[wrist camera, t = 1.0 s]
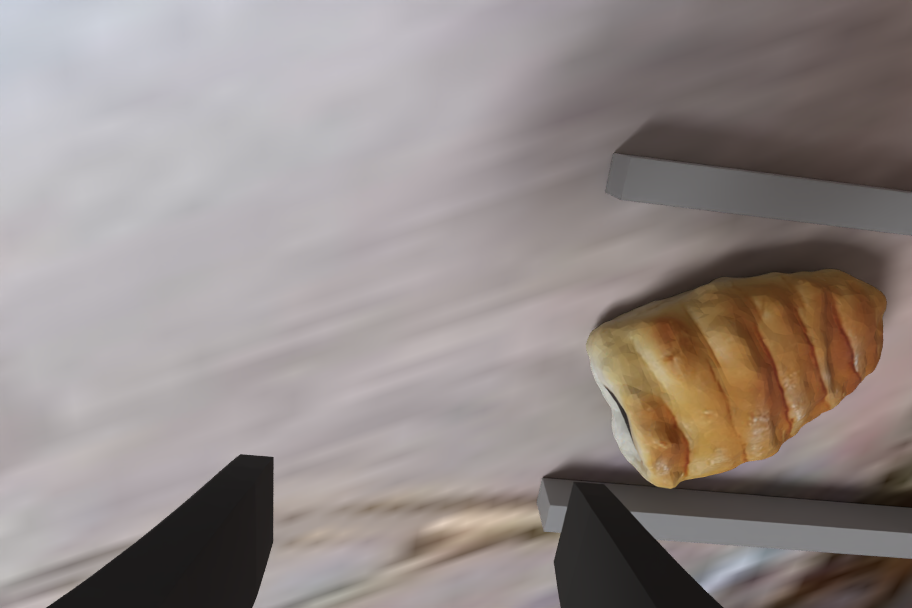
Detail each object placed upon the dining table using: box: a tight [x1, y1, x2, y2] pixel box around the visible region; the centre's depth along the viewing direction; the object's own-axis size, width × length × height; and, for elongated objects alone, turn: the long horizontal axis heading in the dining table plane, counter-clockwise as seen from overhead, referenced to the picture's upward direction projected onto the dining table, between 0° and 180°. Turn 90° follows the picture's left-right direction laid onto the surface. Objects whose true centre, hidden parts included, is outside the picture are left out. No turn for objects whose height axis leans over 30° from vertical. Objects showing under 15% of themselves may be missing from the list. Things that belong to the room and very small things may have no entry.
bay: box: [537, 153, 912, 559], centre depth 18 cm, size 13×23×3 cm, turn 83°
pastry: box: [586, 269, 887, 489], centre depth 17 cm, size 9×7×4 cm
